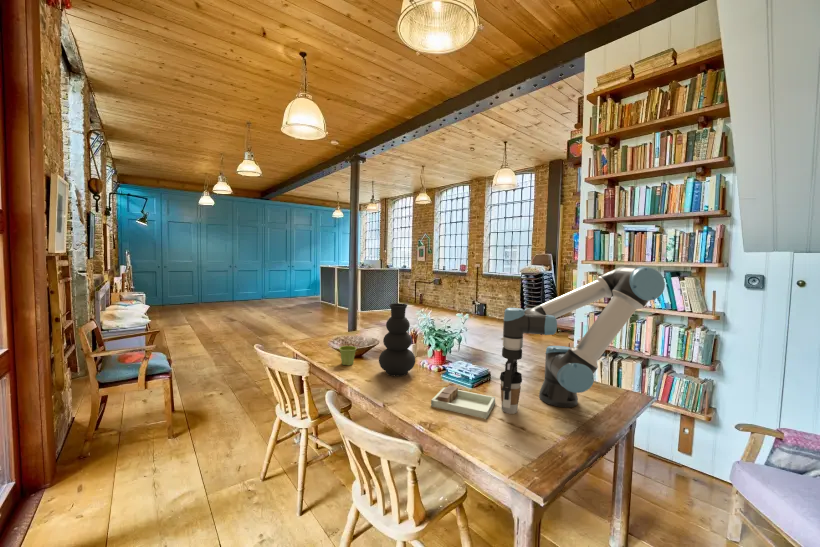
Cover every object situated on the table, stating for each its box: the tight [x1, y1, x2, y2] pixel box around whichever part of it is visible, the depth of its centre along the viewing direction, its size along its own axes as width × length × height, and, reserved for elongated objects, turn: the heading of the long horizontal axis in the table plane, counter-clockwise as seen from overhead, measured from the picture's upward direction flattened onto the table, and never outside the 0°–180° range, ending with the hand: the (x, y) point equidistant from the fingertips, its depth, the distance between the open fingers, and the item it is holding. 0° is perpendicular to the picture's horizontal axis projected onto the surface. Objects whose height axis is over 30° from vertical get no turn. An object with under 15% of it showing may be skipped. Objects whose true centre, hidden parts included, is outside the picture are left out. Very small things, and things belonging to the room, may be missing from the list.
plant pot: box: [338, 345, 357, 366], centre depth 188 cm, size 9×9×9 cm
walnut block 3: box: [446, 385, 459, 400], centre depth 146 cm, size 4×4×4 cm
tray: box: [430, 386, 496, 420], centre depth 139 cm, size 22×15×4 cm
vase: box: [378, 302, 416, 377], centre depth 175 cm, size 18×18×35 cm
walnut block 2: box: [441, 389, 454, 403], centre depth 143 cm, size 4×4×4 cm
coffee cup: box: [499, 370, 523, 415], centre depth 137 cm, size 8×8×15 cm
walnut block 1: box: [438, 393, 450, 403], centre depth 138 cm, size 4×4×4 cm
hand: (509, 400), depth 137 cm, fingers open, 13 cm apart
